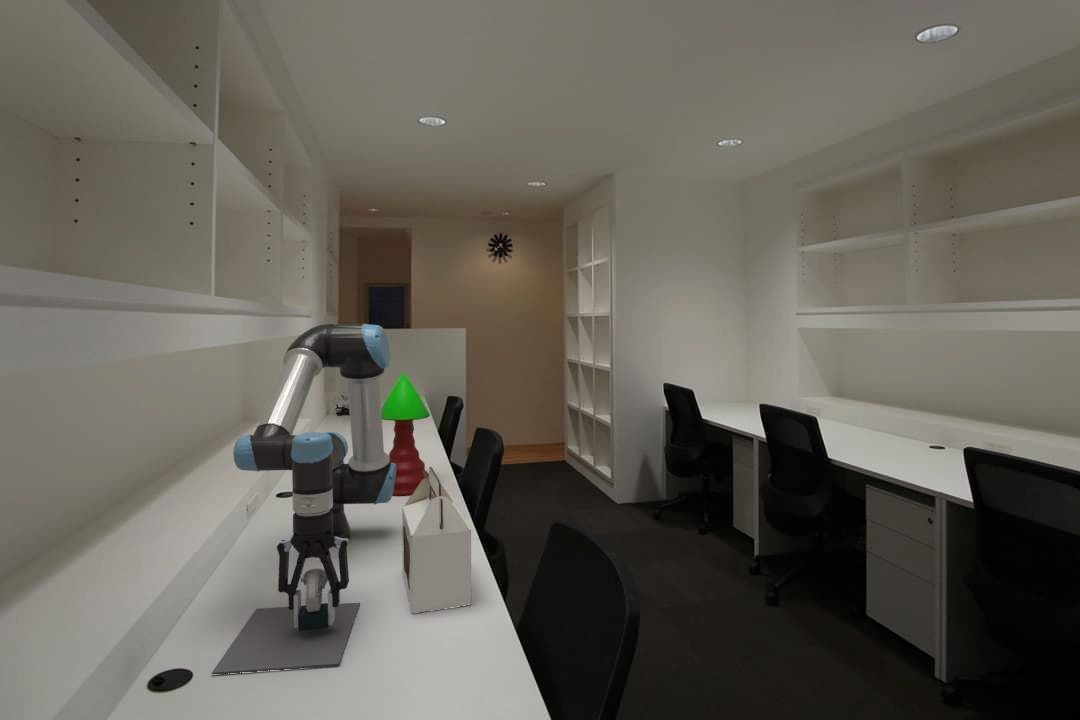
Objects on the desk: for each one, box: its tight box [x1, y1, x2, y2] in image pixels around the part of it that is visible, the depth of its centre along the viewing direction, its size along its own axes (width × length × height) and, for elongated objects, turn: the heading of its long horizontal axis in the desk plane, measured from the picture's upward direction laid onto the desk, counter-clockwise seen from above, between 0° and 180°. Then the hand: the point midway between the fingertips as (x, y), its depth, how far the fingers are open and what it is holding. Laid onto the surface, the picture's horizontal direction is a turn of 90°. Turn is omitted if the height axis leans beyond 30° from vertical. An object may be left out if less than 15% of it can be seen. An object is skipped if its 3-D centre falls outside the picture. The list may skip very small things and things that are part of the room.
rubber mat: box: [211, 602, 361, 675], centre depth 118 cm, size 24×22×1 cm
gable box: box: [401, 466, 472, 614], centre depth 139 cm, size 22×13×28 cm, turn 18°
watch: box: [298, 568, 329, 631], centre depth 118 cm, size 6×8×11 cm
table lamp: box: [381, 371, 431, 496], centre depth 223 cm, size 20×20×45 cm
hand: (314, 622), depth 119 cm, fingers closed on watch, 6 cm apart
